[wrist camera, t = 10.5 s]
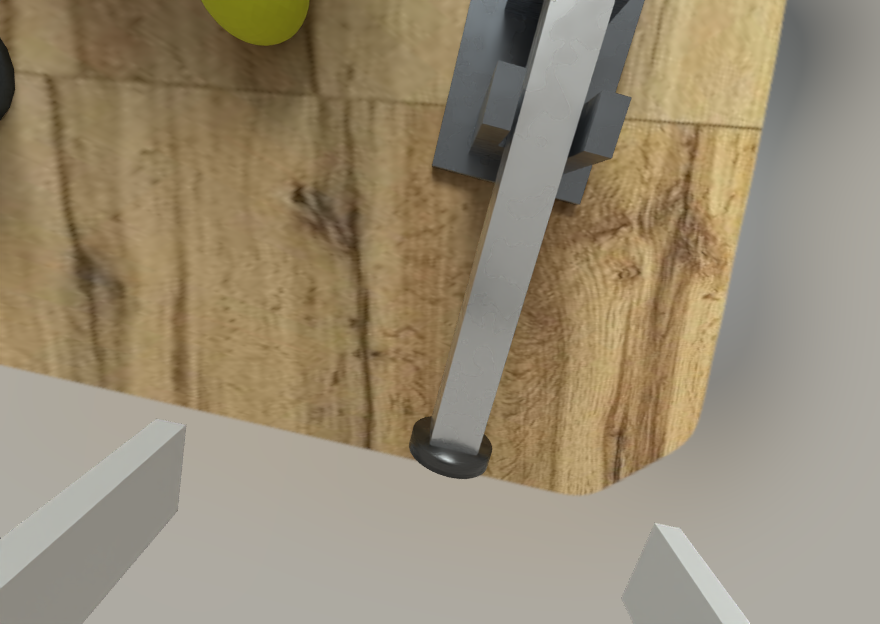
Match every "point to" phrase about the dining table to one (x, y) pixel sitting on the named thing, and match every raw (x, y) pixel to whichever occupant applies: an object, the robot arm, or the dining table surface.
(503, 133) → the bracket
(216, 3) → the ornament
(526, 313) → the dining table surface
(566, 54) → the shaft
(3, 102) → the mug
